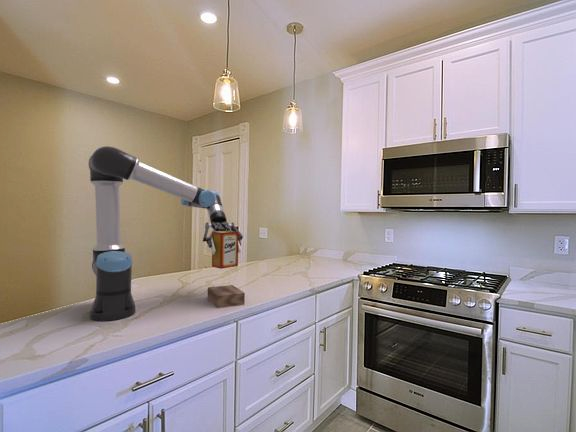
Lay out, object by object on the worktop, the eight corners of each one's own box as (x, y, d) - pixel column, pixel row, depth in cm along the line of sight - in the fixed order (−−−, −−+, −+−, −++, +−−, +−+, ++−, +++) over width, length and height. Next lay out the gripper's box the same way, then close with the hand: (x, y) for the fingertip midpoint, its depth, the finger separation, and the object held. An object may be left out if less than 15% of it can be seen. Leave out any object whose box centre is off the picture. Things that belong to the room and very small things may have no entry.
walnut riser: (217, 307, 127) (218, 295, 127) (207, 298, 141) (207, 287, 141) (244, 304, 133) (244, 292, 133) (231, 295, 147) (232, 284, 147)
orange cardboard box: (221, 268, 131) (221, 231, 131) (211, 266, 135) (212, 230, 135) (237, 266, 138) (238, 231, 138) (228, 264, 143) (229, 230, 142)
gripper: (238, 221, 156) (249, 255, 143) (191, 221, 144) (198, 258, 131) (242, 211, 151) (254, 245, 138) (194, 210, 139) (202, 247, 126)
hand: (227, 252), depth 135 cm, fingers closed on orange cardboard box, 11 cm apart
